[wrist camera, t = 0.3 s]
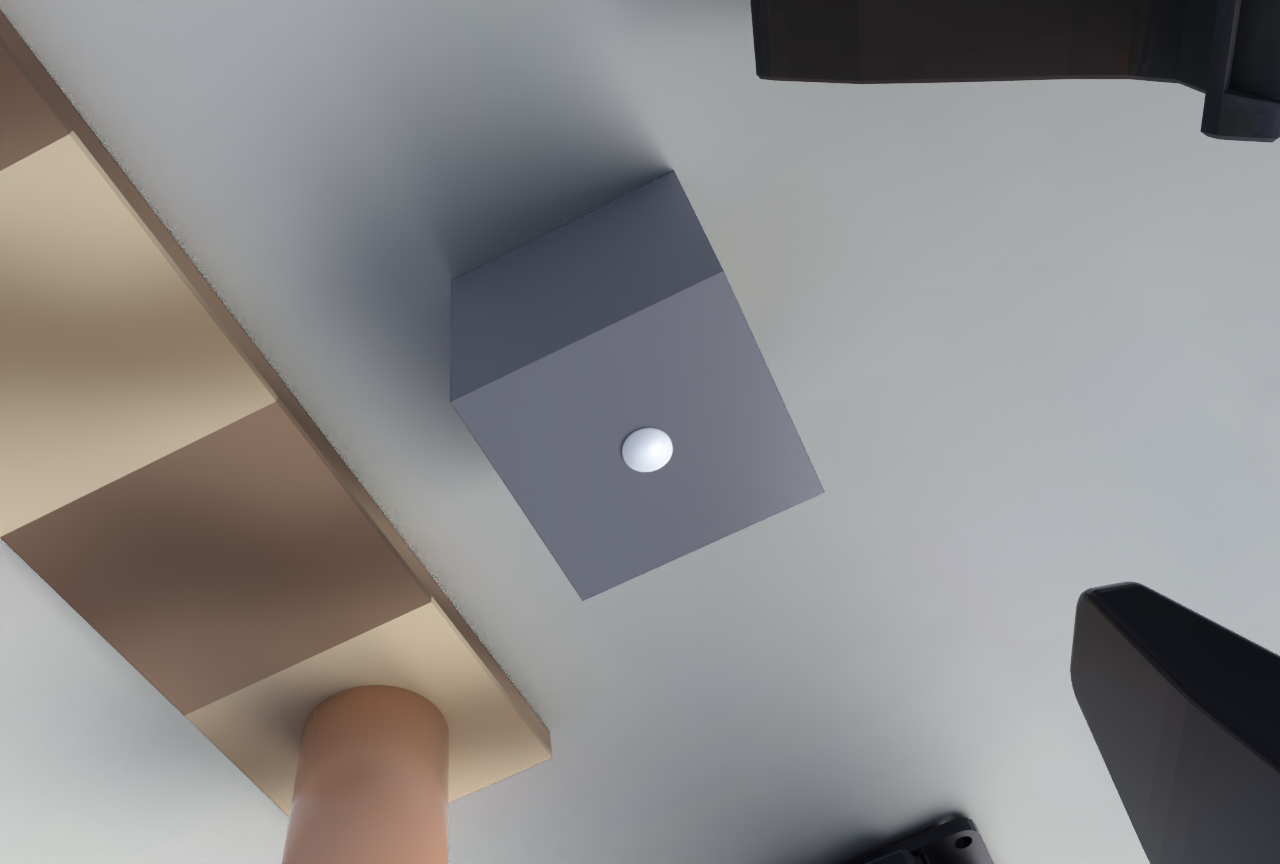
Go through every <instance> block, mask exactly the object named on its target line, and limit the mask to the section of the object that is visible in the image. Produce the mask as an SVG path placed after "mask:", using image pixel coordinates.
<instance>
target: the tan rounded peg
mask: <svg viewBox="0 0 1280 864" xmlns="http://www.w3.org/2000/svg"><path fill="white" fill-rule="evenodd" d="M448 810H449V729H448V725H447V722H446V720H445V718H444V716H443V714H442V713H441V711H440V710H439V709H438V708H437V707H436V706H435V705H434V704H433V703H432V702H431V701H429V700H428V699H426V698H425V697H423V696H421V695H420V694H417V693H415V692H413V691H410V690H407V689H404V688H399V687H395V686H387V685H368V686H360V687H355V688H351V689H347V690H344V691H342V692H339V693H336V694H335V695H333V696H331V697H329V698H327V699H326V700H324V701H323V702H321V703H320V704H319V705H318V706H317V707H316V708H315V709H314V710H313V711H312V712H311V713H310V715H309V716H308V718H307V720H306V722H305V724H304V727H303V732H302V738H301V744H300V751H299V757H298V764H297V770H296V777H295V783H294V790H293V796H292V802H291V809H290V815H289V822H288V828H287V835H286V841H285V848H284V854H283V861H282V864H448Z"/></svg>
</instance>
